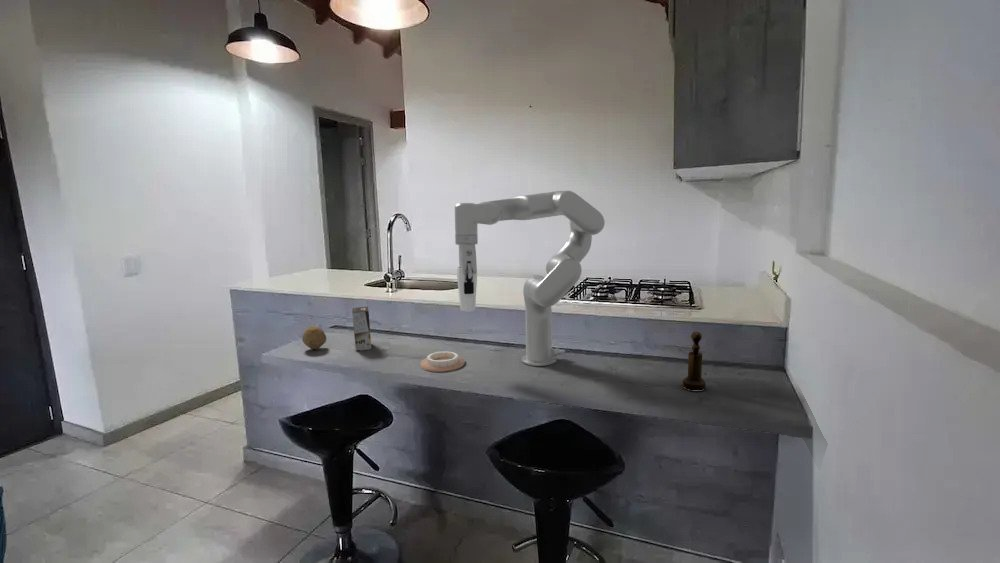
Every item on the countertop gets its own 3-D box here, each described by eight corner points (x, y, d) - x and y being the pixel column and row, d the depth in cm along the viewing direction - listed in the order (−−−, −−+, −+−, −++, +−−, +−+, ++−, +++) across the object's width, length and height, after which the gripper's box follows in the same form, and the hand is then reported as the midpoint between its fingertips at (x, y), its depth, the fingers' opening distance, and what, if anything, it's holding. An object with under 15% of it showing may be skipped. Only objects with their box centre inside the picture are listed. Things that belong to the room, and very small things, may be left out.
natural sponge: (297, 351, 195) (295, 327, 194) (314, 345, 203) (311, 322, 202) (315, 353, 192) (312, 329, 190) (330, 347, 200) (328, 324, 198)
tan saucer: (462, 355, 185) (462, 347, 185) (466, 369, 170) (466, 361, 169) (420, 358, 183) (419, 351, 182) (421, 373, 167) (420, 365, 167)
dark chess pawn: (687, 382, 154) (689, 327, 150) (708, 386, 150) (711, 330, 146) (679, 389, 149) (682, 332, 145) (701, 394, 145) (704, 336, 141)
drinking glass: (475, 312, 163) (474, 268, 161) (455, 312, 164) (454, 268, 162) (479, 308, 170) (478, 266, 168) (460, 307, 171) (459, 265, 169)
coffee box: (371, 349, 196) (368, 310, 193) (355, 351, 194) (352, 312, 191) (370, 343, 204) (367, 306, 202) (355, 344, 203) (352, 307, 200)
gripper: (481, 241, 156) (482, 296, 159) (473, 237, 172) (474, 286, 175) (458, 242, 154) (459, 297, 157) (452, 238, 171) (453, 287, 174)
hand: (467, 291), depth 166 cm, fingers closed on drinking glass, 6 cm apart
